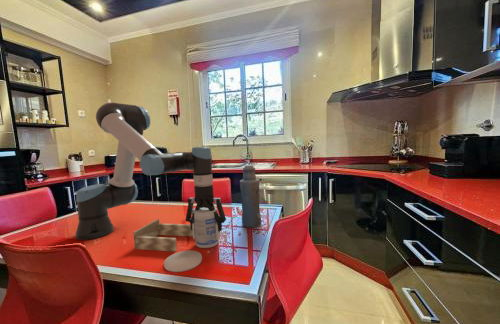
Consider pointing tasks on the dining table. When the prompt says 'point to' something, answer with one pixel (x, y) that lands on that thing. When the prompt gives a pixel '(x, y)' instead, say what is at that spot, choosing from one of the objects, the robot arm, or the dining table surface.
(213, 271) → the dining table surface
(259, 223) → the bottle
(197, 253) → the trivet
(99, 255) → the dining table surface
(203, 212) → the supplement tub
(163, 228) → the shelf bay
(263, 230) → the dining table surface
